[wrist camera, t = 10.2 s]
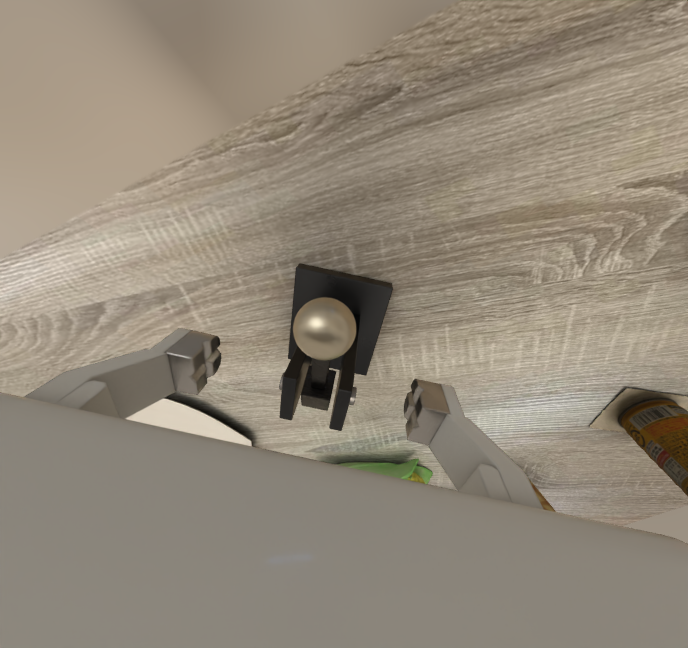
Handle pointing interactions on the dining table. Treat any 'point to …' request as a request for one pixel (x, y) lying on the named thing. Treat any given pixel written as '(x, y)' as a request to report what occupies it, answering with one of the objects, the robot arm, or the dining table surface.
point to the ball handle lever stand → (368, 312)
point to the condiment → (653, 428)
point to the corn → (395, 470)
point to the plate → (187, 421)
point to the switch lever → (322, 345)
